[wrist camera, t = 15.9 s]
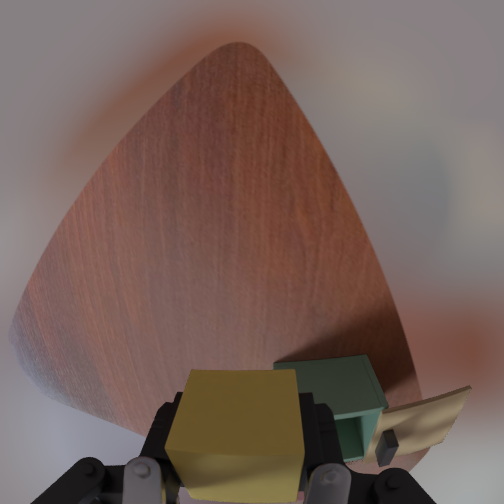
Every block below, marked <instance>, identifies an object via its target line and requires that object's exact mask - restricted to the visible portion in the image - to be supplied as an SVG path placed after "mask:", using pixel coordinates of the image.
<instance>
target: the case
mask: <svg viewBox="0 0 504 504" xmlns="http://www.w3.org/2000/svg"><path fill="white" fill-rule="evenodd" d="M283 369H295V372H296V380H297V388H298V393H305V392H312V393H313V397H314V403H315V404H319V403H326V404H327V405H328V406H329V408H330V409H331V410H332V411H333V415H334V420H335V424H336V428H337V433H338V437H339V442H340V447H341V451H342V456H343V460H344V462H348V461H354V460H359V459H363V458H364V456H365V454H366V451H367V449H368V446H369V443H370V441H371V438H372V435H373V433H374V430H375V427H376V424H377V421H378V418H379V415H380V412H381V410H384V409H388V407H389V405H388V402H387V400H386V398H385V395H384V393H383V391H382V388H381V386H380V384H379V381H378V379H377V377H376V375H375V372H374V370H373V368H372V366H371V363H370V361H369V359H368V357H367V354H364V355H356V356H348V357H340V358H331V359H321V360H310V361H297V362H281V363H273V370H283Z"/></svg>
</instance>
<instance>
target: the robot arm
mask: <svg viewBox="0 0 504 504" xmlns="http://www.w3.org/2000/svg"><path fill="white" fill-rule="evenodd" d="M182 395H183V392H177V394H176V396H175V399H174V402H173V403H170V402H165V403H164V404H163V405H162V406H161V407H160V408H159V409H158V411H157V413H156V416H155V418H154V421H153V423H152V426H151V428H150V431H149V433H148V435H147V438H146V441H145V443H144V445H143V448H142V451H141V453H140V455H139V456H138V457H136V458H133V459H132V460H130V461H129V462H128V463H127V464H126V465H118V466H117V465H116V466H104V465H103V464H102V462H101V461H100V460H98V459H96V458H93V457H86V458H82V459H80V460H79V461H78V462H76V463H75V464H74V465H73V466H72V467H71V468H70V469H69V470H68V471H67V472H65V474H63V475H62V476H61V477H60V478H59V479H58V480H57V481H56V482H55V483H53V484H52V485H51V486H50V487H49V488H48V489H47V490H45V491H44V492H43V493H42V494H41V495H40V496H39V497H38V498H36V499H35V500H34V501H33V502H32V503H31V504H180V501H179V496H178V492H179V488H180V487H185V486H184V484H183V482H182V481H181V479H180V477H179V475H178V473H177V472H176V470H175V468H174V466H173V464H172V462H171V460H170V458H169V456H168V454H167V452H166V450H165V444H166V441H167V438H168V436H169V433H170V430H171V427H172V424H173V421H174V418H175V415H176V412H177V409H178V406H179V403H180V400H181V398H182ZM298 396H299V404H300V413H301V422H302V431H303V440H304V449H305V455H304V462H303V468H302V474H301V480H300V486H299V491H304V502H303V504H436V503H435V502H434V501H433V499H431V497H430V496H429V495H428V494H427V493H426V492H425V491H424V490H423V488H422V487H421V486H420V485H419V484H418V483H417V482H416V480H415V479H414V478H413V477H412V476H411V475H410V474H409V473H408V472H407V471H406V470H404V469H401V468H389V469H386V470H384V471H382V472H381V473H380V474H379V475H376V474H362V473H357V472H354V471H352V470H351V469H349V468H348V467H347V466H346V464H345V463H344V460H343V456H342V451H341V447H340V442H339V437H338V433H337V428H336V424H335V420H334V415H333V411H332V410H331V409H330V408H329V406H328V405H327V404H326V403H319V404H315V403H314V397H313V393H312V392H305V393H298Z"/></svg>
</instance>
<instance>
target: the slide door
mask: <svg viewBox="0 0 504 504" xmlns="http://www.w3.org/2000/svg"><path fill="white" fill-rule="evenodd" d="M471 389H472V388H471V386H470V385H469V386H466V387H463V388H460V389H457V390H454V391H451V392H448V393H445V394H442V395H439V396H436V397H432V398H429V399H425V400H422V401H418V402H414V403H410V404H406V405H402V406H398V407H394V408H389V409H384V410H381V412H380V415H379V418H378V421H377V424H376V427H375V430H374V433H373V435H372V438H371V441H370V443H369V446H368V449H367V451H366V454H365V456H364V458H363V461H362V462H363V465H364V464H369V463H374V462H378V465H379V467H382V466H386V465H389V464H390V462H391V461H392V459H393V458H394V457H398V456H402V455H405V454H409V453H412V452H415V451H418V450H422V449H425V448H428V447H431V446H433V445H436V444H439V443H442V442H443V440H444V438H445V437H446V435H447V434H448V432H449V430H450V429H451V427H452V425H453V423H454V421H455V420H456V418H457V416H458V414H459V413H460V411H461V409H462V407H463V405H464V403H465V401H466V399H467V397H468V395H469V393H470V391H471Z"/></svg>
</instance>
